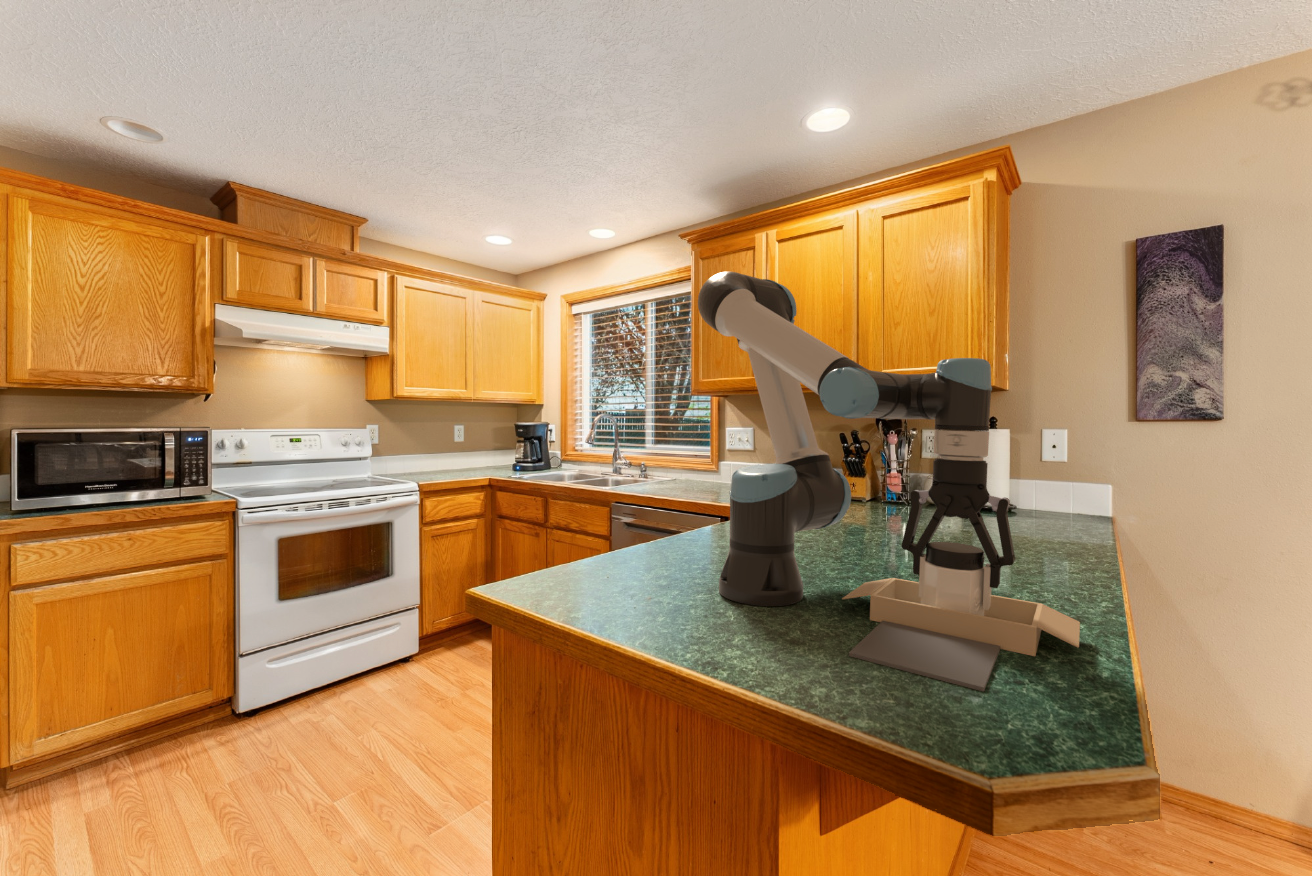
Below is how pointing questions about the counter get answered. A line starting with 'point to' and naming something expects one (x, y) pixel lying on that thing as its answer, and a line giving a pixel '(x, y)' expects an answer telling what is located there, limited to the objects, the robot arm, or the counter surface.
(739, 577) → the robot arm
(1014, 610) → the carton
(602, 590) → the counter surface
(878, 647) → the mat
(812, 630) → the counter surface
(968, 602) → the jar
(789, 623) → the counter surface
